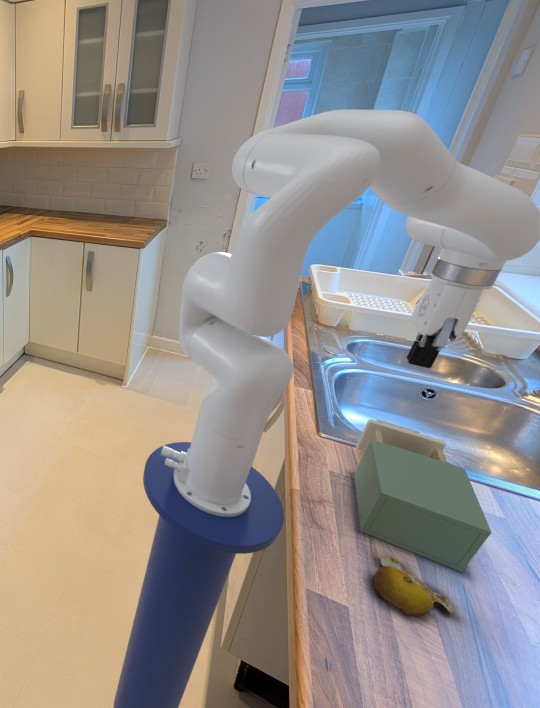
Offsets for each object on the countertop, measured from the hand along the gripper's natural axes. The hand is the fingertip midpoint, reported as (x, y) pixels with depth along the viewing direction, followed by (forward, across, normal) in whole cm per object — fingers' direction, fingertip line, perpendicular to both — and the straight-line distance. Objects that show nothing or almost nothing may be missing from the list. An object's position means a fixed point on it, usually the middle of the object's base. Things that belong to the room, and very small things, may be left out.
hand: (418, 363), depth 80 cm
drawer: (+16, +13, 0) cm, 21 cm away
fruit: (+17, +39, -1) cm, 43 cm away
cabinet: (+17, +24, 0) cm, 29 cm away
